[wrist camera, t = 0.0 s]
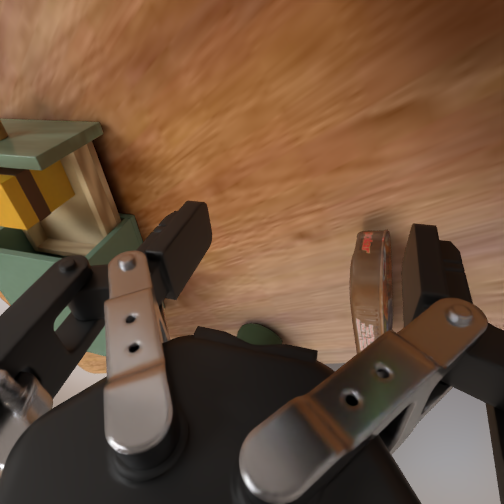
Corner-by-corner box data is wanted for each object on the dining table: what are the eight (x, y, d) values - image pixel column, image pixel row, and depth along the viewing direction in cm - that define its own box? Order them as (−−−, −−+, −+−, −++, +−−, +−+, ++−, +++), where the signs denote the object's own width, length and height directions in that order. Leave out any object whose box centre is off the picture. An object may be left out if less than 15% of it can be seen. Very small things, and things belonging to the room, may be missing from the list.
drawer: (-25, 102, 36) (-108, 130, 30) (94, 104, 32) (25, 137, 26) (47, 234, 47) (-4, 274, 41) (143, 248, 43) (102, 295, 37)
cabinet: (33, 203, 44) (-33, 247, 37) (134, 214, 40) (81, 267, 33) (81, 290, 54) (35, 338, 47) (165, 307, 50) (129, 362, 43)
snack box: (22, 149, 36) (-38, 179, 31) (56, 151, 35) (0, 183, 30) (44, 191, 40) (-7, 226, 34) (76, 195, 38) (28, 231, 33)
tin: (393, 324, 39) (394, 391, 33) (364, 322, 40) (359, 387, 34) (389, 210, 31) (390, 273, 24) (353, 213, 32) (344, 273, 26)
